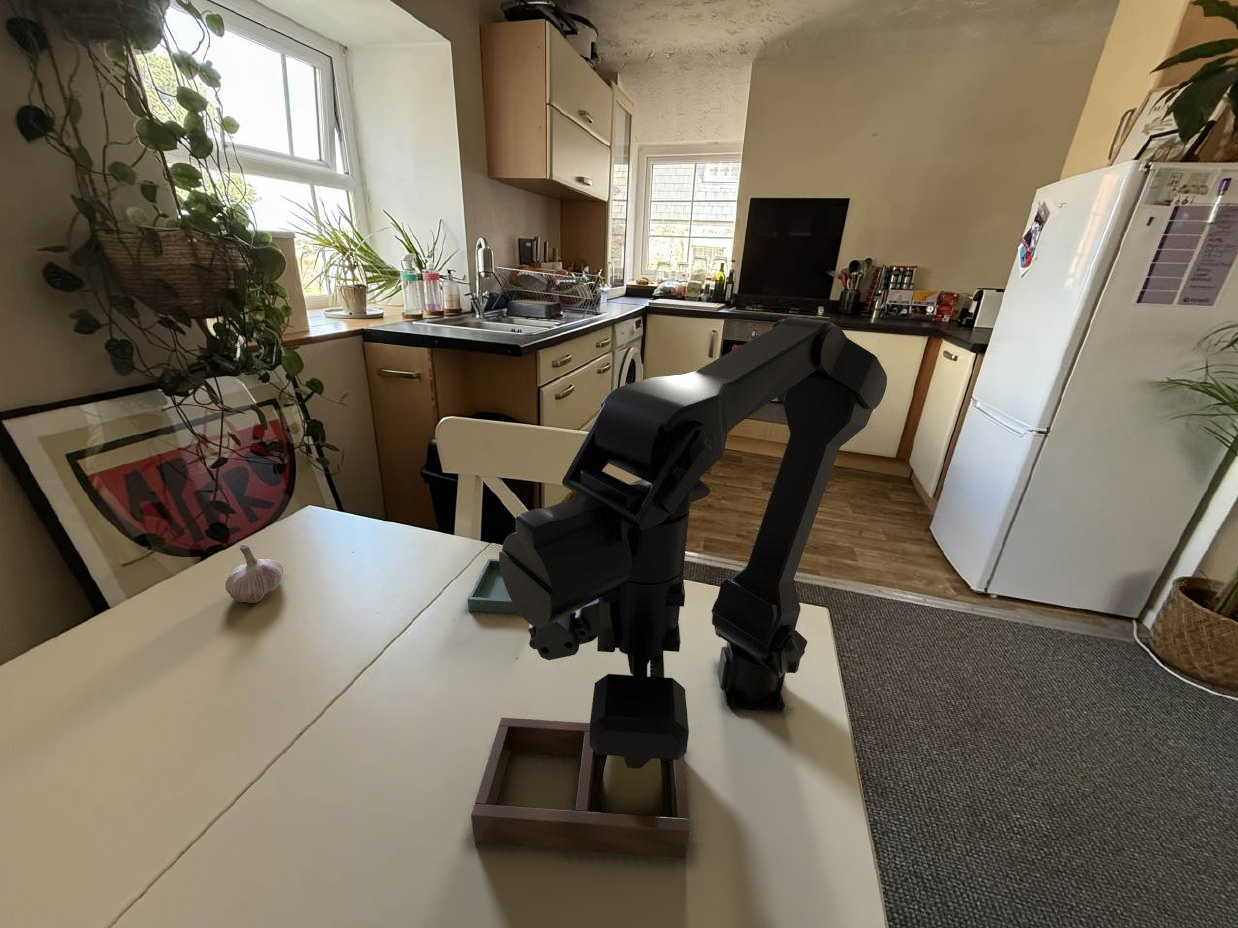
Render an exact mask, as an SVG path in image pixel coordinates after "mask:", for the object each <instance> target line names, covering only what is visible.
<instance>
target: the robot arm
mask: <svg viewBox="0 0 1238 928" xmlns="http://www.w3.org/2000/svg"><path fill="white" fill-rule="evenodd" d="M887 385H888V376H887V373H886V371H885V369H884V367H883V366H882V363H881V362H880V360H879V357H878V356H876V355H875V354H874V353H872V352H870V351H869V350H868V349H866V348H864V347H863V346H861V345H859V344H858V343H856V342H855V341H854V340H851V339H850V338H849V337H847V335H846V334H845V332H844V331H843V329H842V327H840V326H839V325H836V324H834V322H832V321H829V320H823V319H822V320H821V319H815V318H805V317H797V316H787V317H786V318H781V319H779V320H777V321H776V322H775V323H774V324H773V326H772V328H771V329H769V330H767V331H765V332H764V333H762V334H759V335H758V336H756V337H754V338H752V339H751V340H749V341H747V342H746V343H744V344H742V345H740V346H738V347H737V348H735V349H733V350H731V351H729V352H728V353H725V354H724V355H722V356H720V357H718V358H716V359H715V360H713V361H711V362H710V363H707V364H705V365H704V366H702V367H700V368H699V369H697V370H695V371H691V372H689V373H685V374H679V375H665V376H664V375H663V376H654V377H649V378H646V379H642V380H638V381H635V382H632V383H631V382H630V383H628V384H625V385H621V386H619V387H617V388H615V389H614V390H612V391H611V392H610V393H608V394H607V395H606V396H605V398H604V399H603V400H602V401H601V403H600V408H601V409H600V410H599V413H598V414H597V416H596V418H595V420H594V422H593V423H592V425H591V427H590V429H589V431H588V432H587V434H586V436H585V438H584V440H583V442H582V443H581V446H580V447H579V449H578V451H577V452H576V455H575V457H574V458H573V460H572V462H571V464H570V465H569V467H568V469H567V471H566V472H565V475H564V477H563V478H562V481H561V484H562V486H563V487H564V488H566V489H568V490H570V491H571V492H573V493H574V494H575V497H573V498H571V499H568V500H565V501H561V502H559V503H557V504H554V505H550V506H548V507H542V508H533V509H530V510H527V511H525V512H522V513H519V514H517V516H516V517H515V531H514V532H512V533H510V534H508V535H507V536H506V537H505V538H504V541H503V543H502V548H501V550H500V551H499V553H498V559H499V563H500V570H501V574H502V578H503V582H504V584H505V587H506V590H507V592H508V594H509V596H510V599H511V601H512V602H513V604H514V606H515V607H516V609H517V611H518V612H519V613H520V614H519V615H520V616H521V617H522V618H523V620H524V621H526V623H528V624H529V625H528V628H527V630H528V632H529V635H530V638H529V642H528V645H529V648H531V649H533V650H537V652H538V655H539V657H541V658H542V659H544V660H546V661H553V660H558V659H562V658H566V657H571V656H572V657H573V656H575V655H577V653H578V652H579V649H580V646H581V645H585V644H588V643H591V642H593V641H595V640H596V639H597V646H596V647H597V649H596V651H597V652H601V653H614V652H616V649H618V651H619V652H620V653H622V654H625V655H626V656H627V662H628V667H629V673H630V674H620V673H619V674H618V673H606V675H604V676H602V677H601V678H599V679H598V680H597V681H596V682H594V687H593V695H592V703H591V709H590V710H591V711H590V719H589V723H590V737H589V746H590V747H591V748H592V749H593V750H594V751H595V753H596V754H597V755H611V756H623V758H624V760H625V763H626V766H627V767H628V768H638V769H639V768H642V767H643V766H644V765H645V764H646V763H647V762H648V761H649V760H651V759H652V758H653V759H667V760H679V759H680V758H681V757H682V756H683V755H684V756H685V755H686V754H687V750H688V743H689V736H690V735H689V734H690V729H689V728H690V727H689V718H688V705H687V695H686V694H687V693H686V688H685V687H684V686H683V685H681V684H680V683H679V682H678V681H677V680H676V679H675V678H673V677H665V659H664V657H665V655H664V654H665V653H664V652H671V653H672V652H674V653H680V650H681V633H680V623H679V621H680V610H681V607H683V608H684V607H685V602H686V591H685V581H684V571H685V570H684V569H685V559H686V550H687V540H688V529H689V519H690V509H691V504H692V503H694V502H697V501H698V500H702V499H704V498H706V497H707V496H709V494H710V492H711V488H710V487H709V485H707V484H706V483H705V482H704V481H702V480H701V477H703V476H704V474H706V473H707V472H708V471H709V470H710V469H711V468H712V467H713V466H714V465H715V464H716V463H717V462H718V461H719V460H720V459H721V458H722V457H723V456H724V454H725V448H726V443H727V439H728V434H729V433H730V432H731V431H732V430H733V429H734V428H736V426H738V425H739V424H741V423H742V422H743V421H745V420H746V419H748V418H749V417H750V416H752V415H753V414H755V413H757V412H758V411H759V410H761V409H762V408H763V407H765V406H766V405H768V404H770V403H772V402H773V401H774V400H776V399H777V398H778V397H780V396H781V395H783V394H784V397H783V402H782V408H783V411H784V416H785V418H786V424H787V429H788V432H789V436H788V440H787V443H786V446H785V449H784V451H783V456H782V458H781V461H780V465H779V467H778V471H777V474H776V476H775V480H774V483H773V487H772V489H771V492H770V495H769V497H768V501H767V504H766V508H765V509H764V513H763V516H762V520H761V522H760V525H759V529H758V532H757V533H756V537H755V539H754V543H753V547H752V548H751V549H752V550H751V552H750V555H749V559H748V562H747V564H746V566H745V567H744V568H743V569H742V570H740V571H738V572H737V573H736V574H735V575H734V576H732V577H731V578H726V579H724V580H723V581H722V582H721V583H720V586H719V589H718V590H719V591H718V595H717V598H716V599H715V601H714V603H713V606H712V608H711V625H713V628H714V632H715V635H716V636H717V637H718V638H721V639H723V640H724V641H725V642H726V646H722V647H721V648H720V654H719V662H718V669H717V676H718V681H719V687H720V690H721V691H723V694H724V700H725V705H726V706H727V707H728V708H729V709H740V710H741V709H742V710H756V711H769V712H770V711H772V712H783V711H784V710H785V708H786V704H785V701H784V698H783V695H782V691H783V687H784V683H785V677H786V674H796V673H797V672H798V671H799V668H800V664H801V659H802V658H803V656H804V655H805V653H806V647H807V644H808V640H807V639H806V638H805V637H804V636H803V635H802V634H801V633H800V632H799V631H797V630H796V628H797V624H798V620H799V617H800V613H801V604H800V600H799V596H798V591H797V587H796V584H795V583H796V582H795V577H796V573H797V571H798V568H799V565H800V562H801V559H802V557H803V555H804V551H805V548H806V546H807V542H808V539H809V537H810V534H811V532H812V528H813V525H814V523H815V519H816V517H817V514H818V511H819V508H820V505H821V502H822V499H823V497H824V494H825V491H826V488H827V486H828V482H829V479H830V477H831V474H832V471H833V468H834V465H835V462H836V459H837V457H838V453H839V451H840V449H841V448H842V447H843V446H844V445H845V444H846V443H847V442H849V441H850V440H852V438H853V437H855V436H856V435H857V434H858V433H860V432H861V431H863V430H864V429H865V428H866V427H867V425H868V423H869V420H870V419H871V416H872V414H873V411H874V410H876V409H877V408H878V407H879V405H880V404H881V403H882V400H883V399H884V396H885V393H886V390H887ZM608 464H609V465H612V467H615V468H617V469H619V470H622V471H624V472H626V473H628V474H631V475H632V476H635V477H637V478H639V479H637V480H635V481H633V482H630V483H627V482H625V481H623V480H622V479H619V478H617V477H615V476H613V475H611V474H609V473H607V472H605V471H604V469H605V468H606V467H607V466H608ZM648 665H649V673H650V674H649V675H648Z"/></svg>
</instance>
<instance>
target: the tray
mask: <svg viewBox="0 0 1238 928" xmlns="http://www.w3.org/2000/svg"><path fill="white" fill-rule="evenodd" d="M467 609H468V611H469V612H483V613H484V612H485V613H499V614H501V613H502V614H517V615H518V614H519V615H521V614H520V613H519V612H518V611H517V609H516V607H515V606H514V604H513V602H512V601H511V599H510V596H509V594H508V592H507V590H506V587H505V584H504V582H503V578H502V574H501V570H500V563H499V558H498V559H497V558H488V559H487V561H486V562H485V565H484V566H483V569H482V570H481V572H480V574H479V576H478V578H477V580H476V582H475V584H474V586H473V587H472V589H471V592H470V593H469V595H468V597H467Z"/></svg>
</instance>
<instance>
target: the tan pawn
mask: <svg viewBox="0 0 1238 928" xmlns="http://www.w3.org/2000/svg"><path fill="white" fill-rule="evenodd" d="M598 790H599V792H598V803H599V808H600V811H601V813H611V814H626V815H640V816H654V817H661V814H662V811H663V808H664V789H663V777H662V764H661V761H660V759H653V758H652V759H651V760H649V761H648V762H647V763H646V764H645V765H644V766H643V767H642V768H639V769H638V768H628V767H627V766H626V763H625V760H624V758H623V756H611V755H607V757H606V759H605V764H604V767H603V772H602V777H601V782H600V784H599V789H598Z"/></svg>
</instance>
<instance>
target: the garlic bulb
mask: <svg viewBox="0 0 1238 928" xmlns="http://www.w3.org/2000/svg"><path fill="white" fill-rule="evenodd" d="M239 550H240V552H241V553H242V554H243V556H244V559H245V562H246V563H244V564H240V565H238V566H237V567H236V568H234V569H233V570H231V572H229V574H228V576H227V579H226V581H225V583H224V584H225V587H224V588H225V590H226V592H227V593H228V594H229V596H230V598H231V599H233V600H234V601H236V602H241V603H242V602H246V603H248V604H255V603H256V604H257V603H259V602H260V601H262V600H263V598H264V597H265V595H266V594H267V593H270V592H272V591H274V590H275V589H277V588H278V587H279V586H280V585H281V582H282V580H283V575H284V572H285V569H284V566H283V565H282V563H281V562H279V561H278V560H274V559H262V558H258V559H257V558H256V557H255V555H254V553H253V552H252V550H251V547H250V546H249V545H248V544H245V543H244V544H240V546H239Z"/></svg>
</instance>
